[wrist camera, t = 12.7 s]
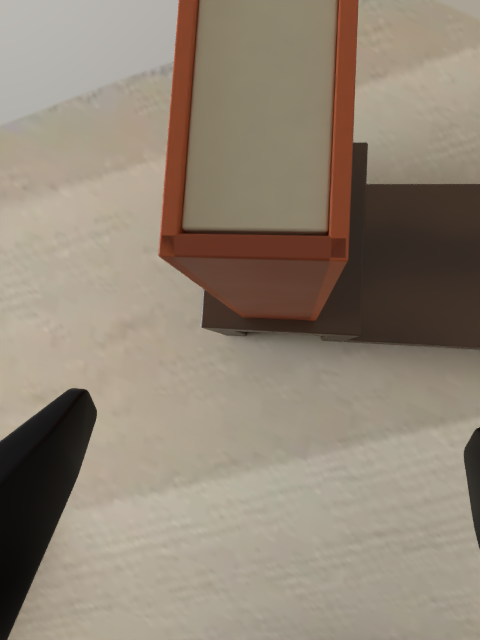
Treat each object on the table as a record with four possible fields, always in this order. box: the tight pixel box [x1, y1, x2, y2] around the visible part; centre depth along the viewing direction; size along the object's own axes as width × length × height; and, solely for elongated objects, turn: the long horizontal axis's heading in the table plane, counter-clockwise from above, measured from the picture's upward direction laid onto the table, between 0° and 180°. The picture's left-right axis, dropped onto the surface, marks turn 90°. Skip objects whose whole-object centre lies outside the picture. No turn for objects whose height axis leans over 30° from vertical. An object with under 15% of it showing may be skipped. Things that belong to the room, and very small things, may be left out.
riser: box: [201, 143, 480, 350], centre depth 18 cm, size 8×18×6 cm, turn 87°
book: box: [158, 0, 358, 321], centre depth 11 cm, size 7×3×10 cm, turn 177°
